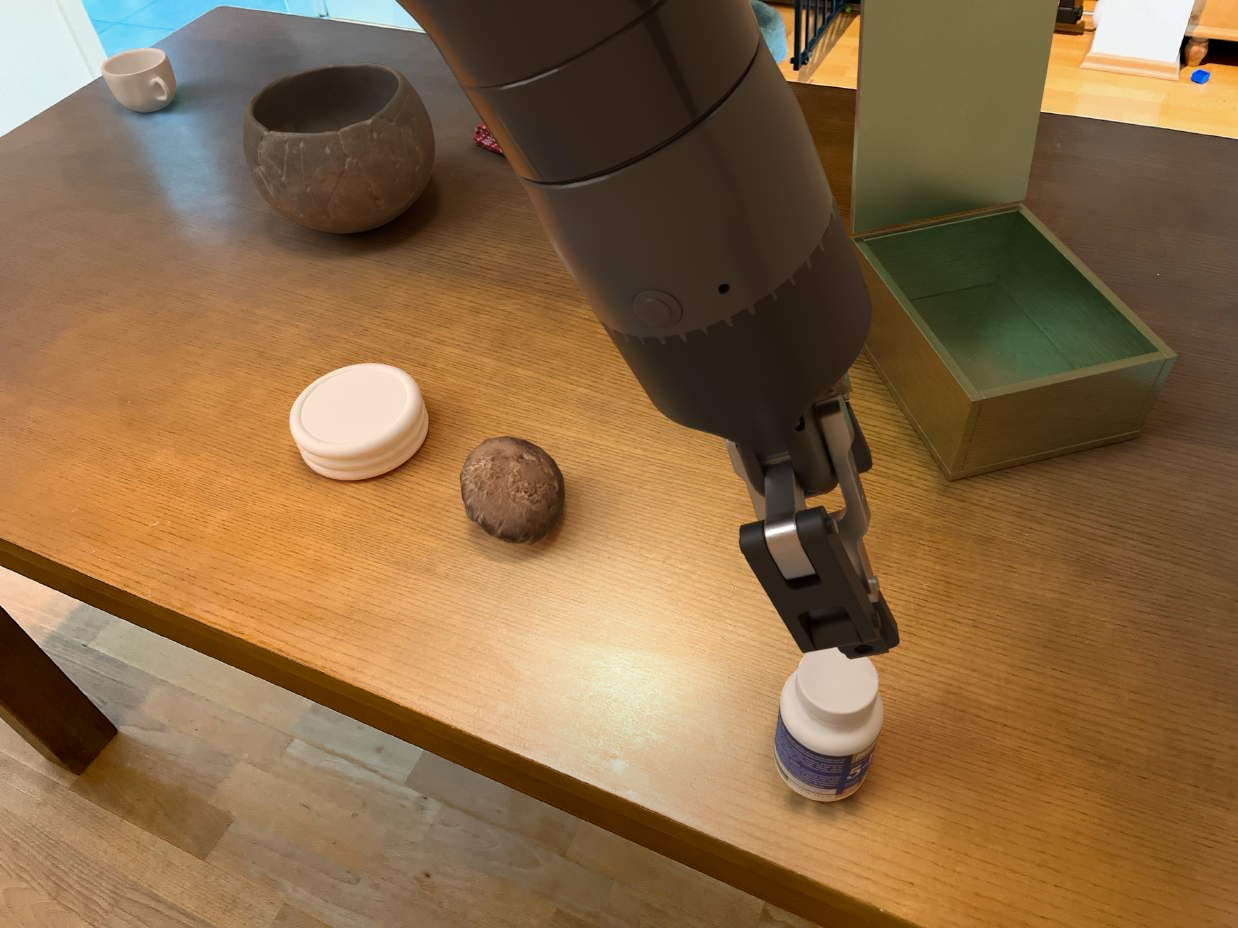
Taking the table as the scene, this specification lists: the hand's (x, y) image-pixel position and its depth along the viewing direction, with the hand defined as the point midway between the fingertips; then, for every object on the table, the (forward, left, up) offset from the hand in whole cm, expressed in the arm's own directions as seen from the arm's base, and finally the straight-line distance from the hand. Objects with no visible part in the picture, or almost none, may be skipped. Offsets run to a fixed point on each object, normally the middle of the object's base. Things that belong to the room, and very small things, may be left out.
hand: (859, 549), depth 37 cm
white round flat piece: (+41, +5, -20) cm, 46 cm away
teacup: (+111, -5, -20) cm, 113 cm away
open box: (+13, -34, -20) cm, 41 cm away
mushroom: (+26, +1, -20) cm, 33 cm away
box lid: (+23, -39, -2) cm, 45 cm away
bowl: (+70, -11, -20) cm, 74 cm away
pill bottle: (0, -1, -20) cm, 20 cm away
